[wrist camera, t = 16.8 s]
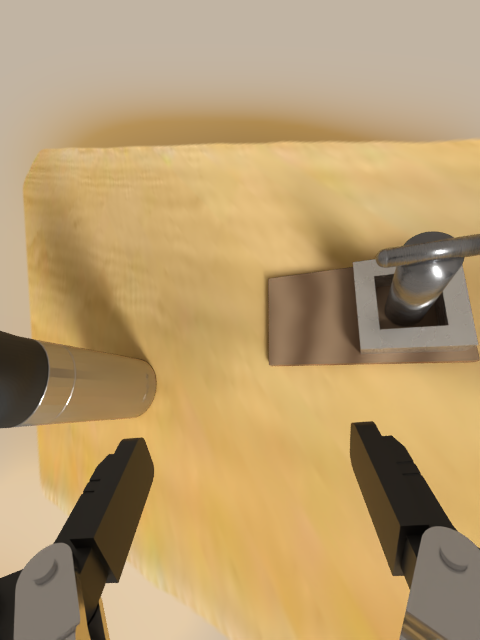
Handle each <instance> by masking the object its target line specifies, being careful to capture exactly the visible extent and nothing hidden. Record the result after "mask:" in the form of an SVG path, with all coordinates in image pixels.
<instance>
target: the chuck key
mask: <svg viewBox="0 0 480 640" xmlns="http://www.w3.org/2000/svg"><path fill="white" fill-rule="evenodd" d="M476 255H480V234H476V235H469V236H463V237H457V238H454V237H452V236H450V235H448V234H445V233H442V232H425V233H421V234H418V235H416V236H414V237H412V238H411V239H409V240H408V241H407V242H406V243H405V244H404V246H401V247H395V248H388V249H383V250H381V251H380V252H379V253H378V254H377V256H376V263H377V264H378V266H380V267H382V268H390V267H396V270H395V273H394V277H393V280H392V284H391V287H390V291H389V294H388V298H387V301H386V305H385V314H386V316H387V318H388V319H389V320H390V321H391V322H392V323H394V324H396V325H399V326H412V325H415V324H417V323H418V322H419V321H420V320H421V319H422V318H423V317H424V315H425V314H426V313H427V311H428V310H429V309H430V307H431V306H432V305H433V303H434V302H435V301H436V299H437V298H438V297H439V295H440V294H441V293H442V291H443V290H444V289H445V287H446V286H447V285H448V283H449V282H450V281H451V279H452V278H453V277H454V275H455V274H456V273H457V271H458V270H459V269H460V267H461V266H462V264H463V261H464V257H469V256H476Z"/></svg>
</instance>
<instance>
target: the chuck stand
mask: <svg viewBox="0 0 480 640" xmlns="http://www.w3.org/2000/svg"><path fill="white" fill-rule="evenodd" d="M395 270H396V267H390V268H382V267H380V266H378V264H377V263H376V259H373V260H366V261H359V262H353V267H350V268H343V269H336V270H328V271H321V272H314V273H306V274H299V275H292V276H284V277H277V278H270V279H269V365H271V366H304V365H353V364H402V363H451V362H476V361H479V360H480V359H479V354H478V349H477V345H478V340H477V335H476V330H475V325H474V321H473V316H472V311H471V306H470V301H469V296H468V291H467V286H466V281H465V276H464V271H463V266H461V267H460V269H459V270H458V271H457V273H456V274H455V275H454V277H453V278H452V279H451V281H450V282H449V283H448V285H447V286H446V287H445V289H444V290H443V291H442V293H441V294H440V295H439V297H438V298H437V299H436V301H435V302H434V303H433V305H432V306H431V307H430V309H429V310H428V311H427V313H426V314H425V315H424V317H423V318H422V319H421V320H420V321H419V322H418V323H417V324H415V325H412V326H399V325H396V324H394V323H392V322H391V321H390V320H389V319H388V318H387V316H386V314H385V305H386V301H387V298H388V294H389V291H390V287H391V284H392V280H393V277H394V273H395Z"/></svg>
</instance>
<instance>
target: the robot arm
mask: <svg viewBox="0 0 480 640" xmlns="http://www.w3.org/2000/svg"><path fill="white" fill-rule="evenodd" d="M155 391H156V378H155V374H154V371H153V369H152V368H151V366H150V365H149V364H148V363H147V362H145V361H143V360H140V359H135V358H130V357H125V356H120V355H115V354H109V353H104V352H99V351H93V350H88V349H83V348H78V347H72V346H67V345H62V344H55V343H50V342H45V341H39V340H34V339H29V338H24V337H19V336H15V335H12V334H9V333H5V332H2V331H0V428H11V427H21V426H34V425H46V424H59V423H73V422H86V421H99V420H114V419H127V418H134V417H137V416H140V415H141V414H143V413H144V412H145V411H146V410H147V409H148V408H149V406H150V405H151V403H152V401H153V398H154V396H155ZM350 458H351V463H352V467H353V470H354V473H355V476H356V479H357V481H358V484H359V487H360V489H361V492H362V495H363V497H364V500H365V503H366V505H367V508H368V511H369V514H370V516H371V519H372V522H373V524H374V527H375V530H376V532H377V535H378V538H379V540H380V543H381V546H382V548H383V551H384V554H385V557H386V559H387V562H388V565H389V567H390V570H391V573H392V575H393V576H405V579H406V581H407V584H408V586H409V589H410V594H409V599H408V603H407V608H406V612H405V617H404V621H403V626H402V630H401V635H400V640H480V548H478V547H477V546H476V545H475V544H474V543H473V542H472V541H470V540H469V539H468V538H467V537H465V536H464V535H463V534H461V533H459V532H458V531H457V530H456V529H455V528H454V526H453V525H452V523H451V522H450V520H449V519H448V517H447V515H446V514H445V512H444V511H443V509H442V507H441V506H440V504H439V502H438V501H437V499H436V497H435V496H434V494H433V492H432V491H431V489H430V488H429V486H428V484H427V483H426V481H425V479H424V478H423V476H421V474H420V471H419V469H418V468H417V466H416V465H415V464H414V462H413V460H412V458H411V456H410V455H409V453H408V451H407V450H406V448H405V447H404V446H403V445H402V444H401V443H400V442H398V441H397V440H396V439H395V438H394V437H393V436H381V434H380V432H379V430H378V428H377V426H376V425H375V423H374V422H373V421H371V422H357V423H351V434H350ZM153 477H154V465H153V462H152V459H151V456H150V453H149V451H148V448H147V445H146V442H145V440H144V438H130V439H123V440H122V441H121V442H120V443H119V445H118V447H117V449H116V451H115V453H114V454H109V455H108V456H107V457H106V458H105V459H104V460H103V461H102V462H101V463H100V464H99V465H98V466H97V468H96V469H95V471H94V473H93V475H92V476H91V478H90V482H89V483H88V484H87V485H86V487H85V489H84V491H83V494H81V496H80V498H79V500H78V501H77V503H76V505H75V507H74V509H73V510H72V512H71V514H70V516H69V518H68V519H67V521H66V523H65V525H64V526H63V528H62V530H61V532H60V534H59V535H58V537H57V539H56V540H55V542H54V544H52V545H50V546H48V547H46V548H44V549H43V550H41V551H40V552H39V553H37V554H36V555H35V556H34V557H33V558H32V559H31V560H30V561H29V562H28V563H27V565H26V566H25V567H24V569H22V570H20V571H17V572H15V573H12V574H10V575H7V576H5V577H2V578H0V640H110V638H109V633H108V628H107V623H106V618H105V613H104V608H103V603H102V599H101V594H102V591H103V589H104V586H105V583H118V582H119V579H120V576H121V573H122V570H123V567H124V565H125V562H126V559H127V556H128V553H129V550H130V547H131V544H132V541H133V538H134V535H135V532H136V529H137V526H138V523H139V520H140V517H141V514H142V511H143V508H144V506H145V503H146V500H147V497H148V494H149V491H150V488H151V485H152V482H153Z"/></svg>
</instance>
